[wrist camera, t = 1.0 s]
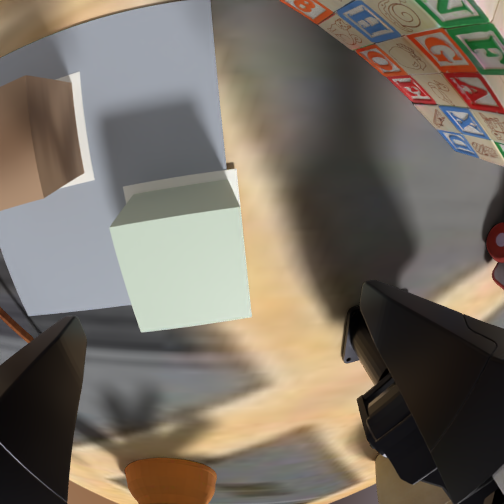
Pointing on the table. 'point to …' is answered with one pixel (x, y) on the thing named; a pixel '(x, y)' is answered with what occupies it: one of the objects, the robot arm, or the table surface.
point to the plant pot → (404, 487)
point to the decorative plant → (170, 481)
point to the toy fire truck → (497, 252)
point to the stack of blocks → (431, 60)
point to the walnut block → (36, 139)
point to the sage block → (183, 256)
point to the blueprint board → (115, 145)
